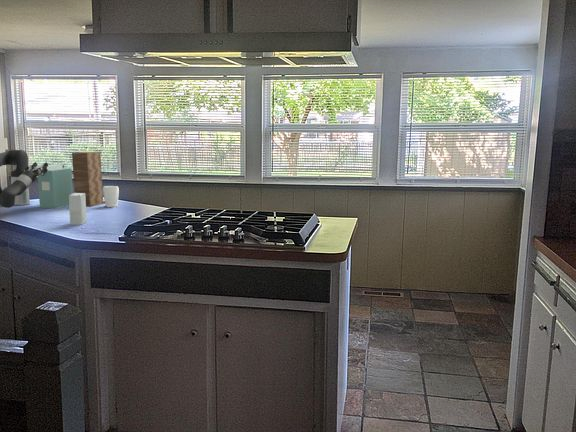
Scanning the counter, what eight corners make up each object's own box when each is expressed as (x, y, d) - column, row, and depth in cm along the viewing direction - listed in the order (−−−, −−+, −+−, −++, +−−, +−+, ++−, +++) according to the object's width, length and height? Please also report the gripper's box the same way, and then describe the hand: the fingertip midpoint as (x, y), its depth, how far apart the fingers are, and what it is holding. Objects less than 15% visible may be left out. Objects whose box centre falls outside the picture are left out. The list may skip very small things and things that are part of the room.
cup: (103, 205, 317) (102, 186, 315) (118, 204, 321) (117, 185, 319) (104, 207, 309) (103, 187, 307) (120, 206, 313) (119, 187, 311)
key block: (54, 208, 306) (51, 170, 302) (39, 207, 308) (36, 170, 305) (73, 204, 324) (71, 168, 320) (59, 203, 326) (57, 168, 322)
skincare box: (75, 222, 262) (73, 192, 259) (87, 222, 262) (85, 192, 260) (69, 225, 254) (67, 194, 251) (82, 225, 254) (80, 194, 252)
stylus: (37, 171, 297) (37, 167, 296) (34, 171, 297) (33, 167, 297) (64, 168, 320) (64, 164, 319) (61, 168, 320) (61, 164, 320)
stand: (90, 206, 312) (87, 153, 307) (72, 206, 315) (69, 152, 309) (105, 203, 328) (102, 151, 322) (88, 202, 330) (85, 151, 325)
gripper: (17, 185, 293) (33, 168, 305) (39, 186, 289) (55, 169, 302) (11, 174, 288) (28, 157, 300) (33, 175, 285) (50, 158, 297)
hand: (41, 163), depth 301 cm, fingers open, 6 cm apart
